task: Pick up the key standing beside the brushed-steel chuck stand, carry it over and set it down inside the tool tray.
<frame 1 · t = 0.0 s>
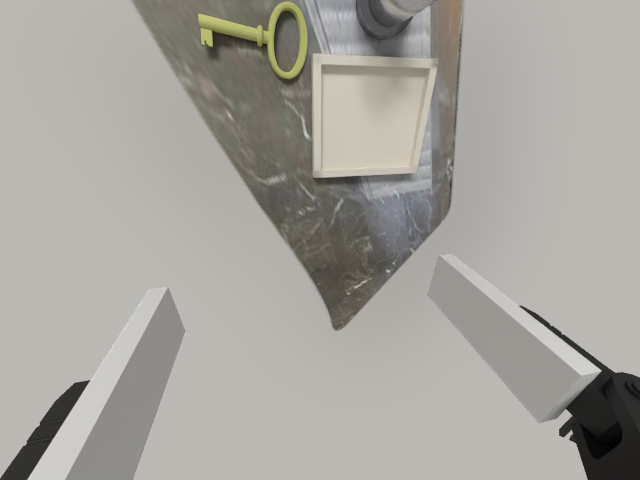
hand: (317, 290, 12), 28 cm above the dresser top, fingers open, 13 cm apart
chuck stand: (383, 2, 29), on the dresser top
tool tray: (368, 121, 35), on the dresser top
key: (260, 39, 29), on the dresser top
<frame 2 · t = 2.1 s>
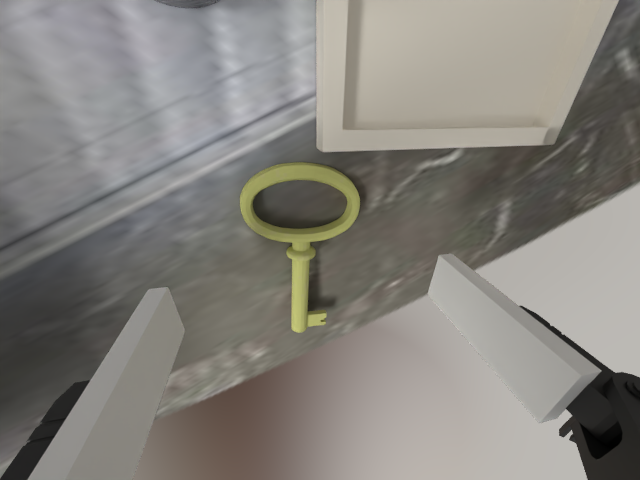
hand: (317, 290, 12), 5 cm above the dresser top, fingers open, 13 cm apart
key: (299, 243, 17), on the dresser top
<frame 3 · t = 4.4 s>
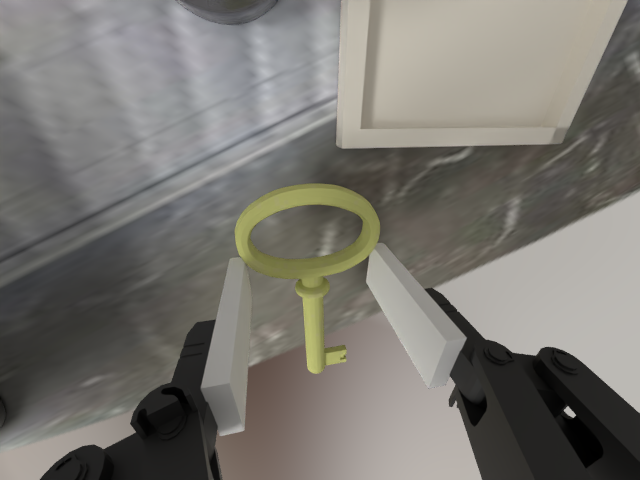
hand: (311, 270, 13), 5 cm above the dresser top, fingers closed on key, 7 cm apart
key: (310, 273, 15), point 4 cm above the dresser top, touching gripper
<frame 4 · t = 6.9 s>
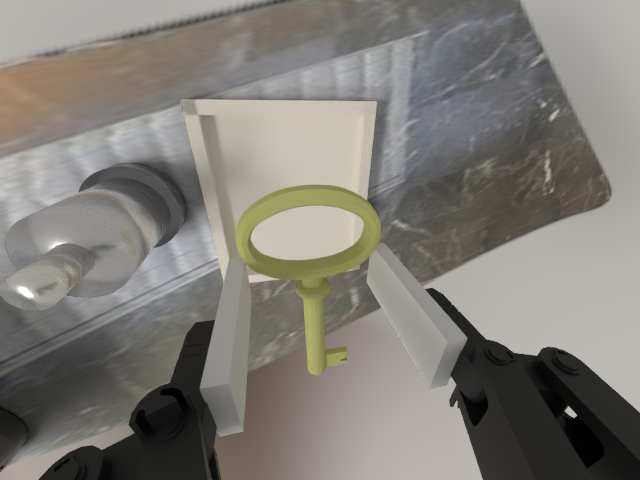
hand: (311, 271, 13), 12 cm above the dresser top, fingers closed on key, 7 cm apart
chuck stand: (142, 203, 21), on the dresser top
tool tray: (290, 199, 24), on the dresser top
key: (311, 274, 15), point 11 cm above the dresser top, touching gripper
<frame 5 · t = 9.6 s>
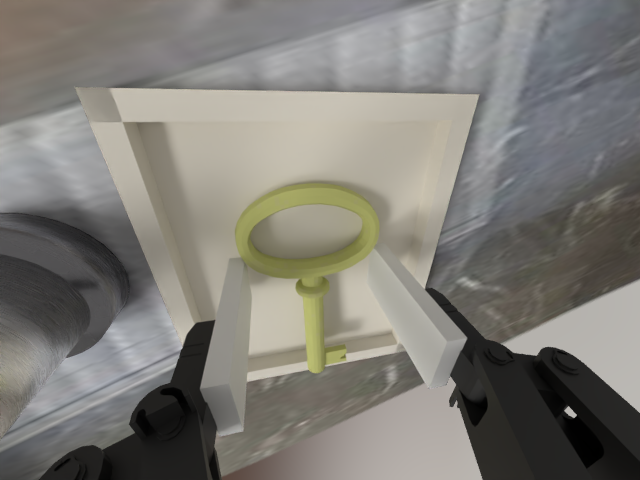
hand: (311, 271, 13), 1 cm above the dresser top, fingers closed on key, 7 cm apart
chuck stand: (45, 279, 12), on the dresser top
tool tray: (306, 259, 14), on the dresser top
key: (310, 273, 15), resting on tool tray, touching gripper
when the fingers open (1 cm above the dresser top, at t = 10.0 s): key stays where it is, resting on tool tray.
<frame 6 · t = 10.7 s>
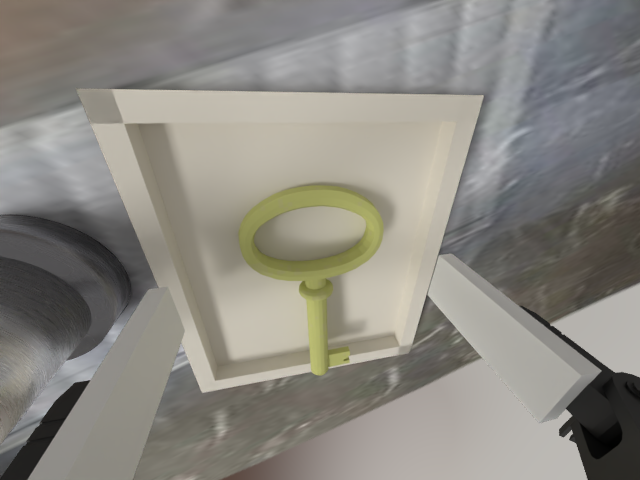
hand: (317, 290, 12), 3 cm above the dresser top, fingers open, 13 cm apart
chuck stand: (46, 281, 12), on the dresser top
tool tray: (308, 260, 14), on the dresser top
key: (313, 274, 15), resting on tool tray
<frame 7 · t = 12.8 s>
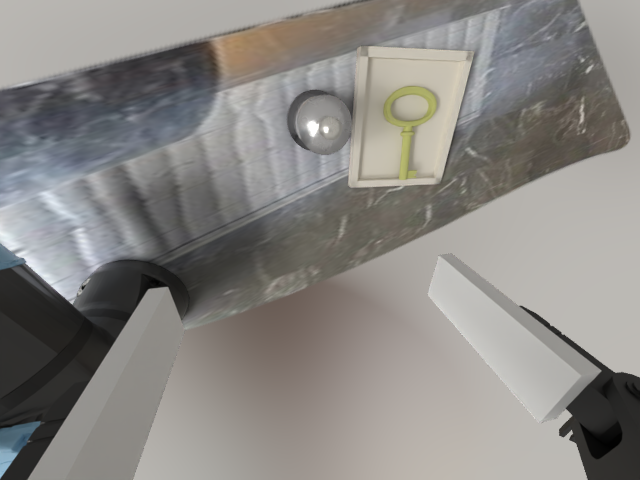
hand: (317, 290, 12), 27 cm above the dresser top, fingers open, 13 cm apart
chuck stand: (313, 121, 32), on the dresser top
tool tray: (401, 125, 35), on the dresser top
key: (404, 132, 35), resting on tool tray
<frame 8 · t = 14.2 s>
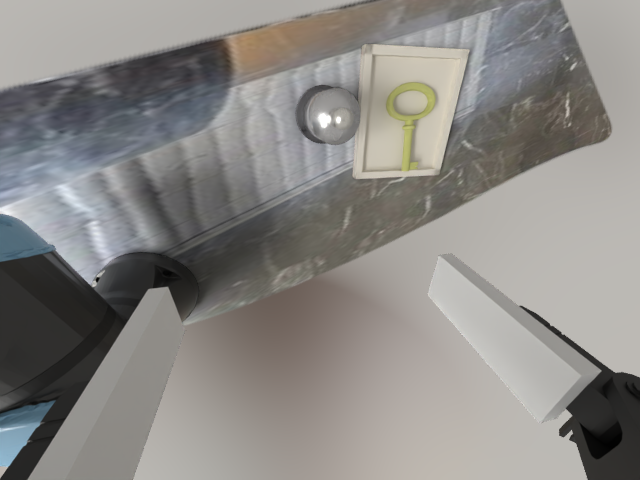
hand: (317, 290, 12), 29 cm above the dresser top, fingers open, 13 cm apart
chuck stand: (320, 115, 34), on the dresser top
tool tray: (403, 119, 37), on the dresser top
key: (405, 126, 37), resting on tool tray
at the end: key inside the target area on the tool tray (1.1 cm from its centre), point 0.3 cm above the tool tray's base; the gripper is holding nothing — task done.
